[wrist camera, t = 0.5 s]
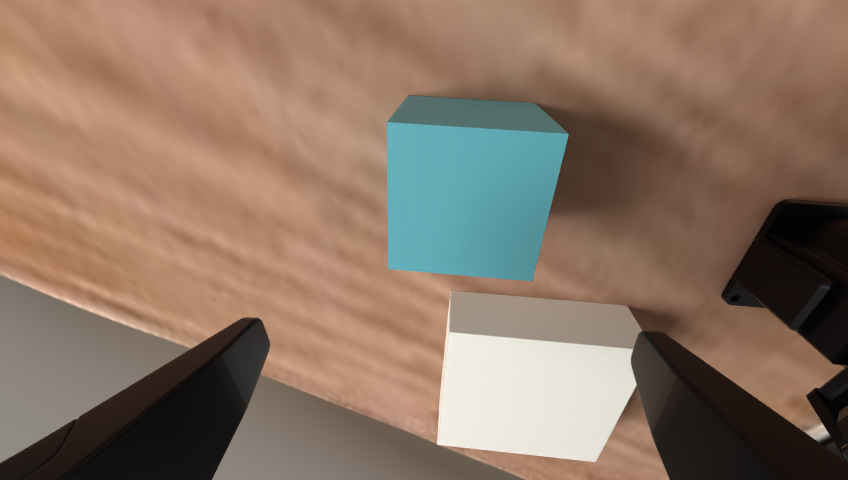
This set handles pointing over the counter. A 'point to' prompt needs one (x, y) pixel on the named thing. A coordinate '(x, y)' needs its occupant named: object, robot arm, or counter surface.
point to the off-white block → (534, 374)
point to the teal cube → (470, 185)
